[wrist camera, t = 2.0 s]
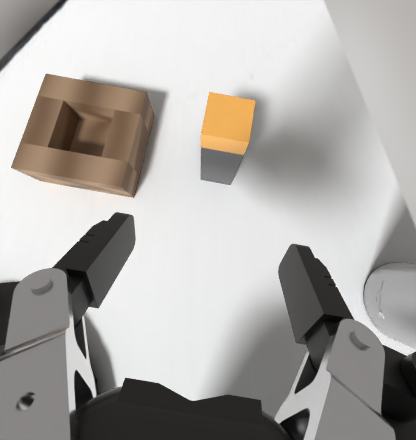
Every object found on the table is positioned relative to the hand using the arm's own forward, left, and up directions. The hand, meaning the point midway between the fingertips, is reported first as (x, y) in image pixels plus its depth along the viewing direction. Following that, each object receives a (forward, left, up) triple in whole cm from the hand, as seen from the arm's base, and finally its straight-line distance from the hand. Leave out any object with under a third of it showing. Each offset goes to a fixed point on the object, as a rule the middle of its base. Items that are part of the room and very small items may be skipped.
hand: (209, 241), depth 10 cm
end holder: (+16, -11, -14) cm, 24 cm away
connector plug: (0, -11, -14) cm, 18 cm away
